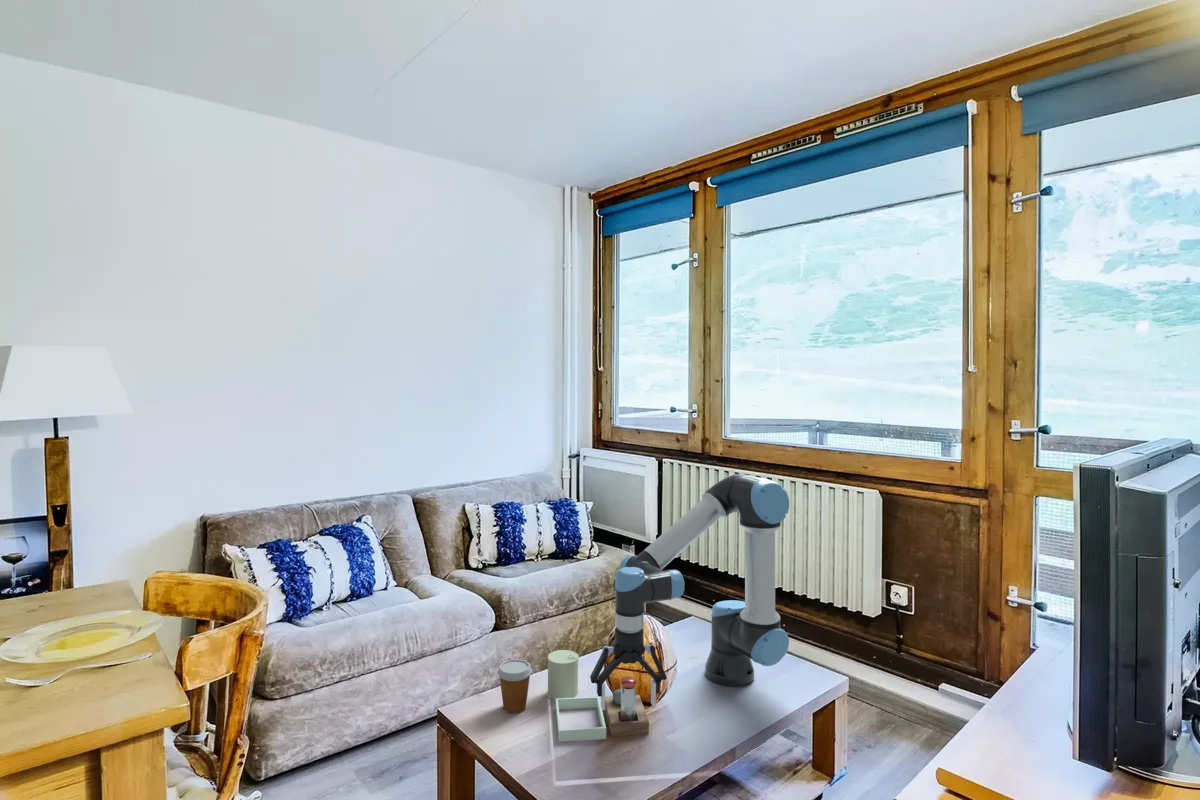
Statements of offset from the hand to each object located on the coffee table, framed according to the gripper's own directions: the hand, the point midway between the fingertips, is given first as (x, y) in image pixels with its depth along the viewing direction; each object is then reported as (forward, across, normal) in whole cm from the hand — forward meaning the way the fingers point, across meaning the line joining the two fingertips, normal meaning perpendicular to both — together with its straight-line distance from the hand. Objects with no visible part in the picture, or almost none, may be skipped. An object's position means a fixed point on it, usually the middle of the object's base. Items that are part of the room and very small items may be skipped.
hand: (628, 706), depth 171 cm
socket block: (+7, 0, -4) cm, 8 cm away
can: (+7, +16, -21) cm, 27 cm away
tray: (+7, +12, -4) cm, 15 cm away
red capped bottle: (+6, 0, 0) cm, 6 cm away
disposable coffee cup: (+7, +30, -15) cm, 34 cm away
